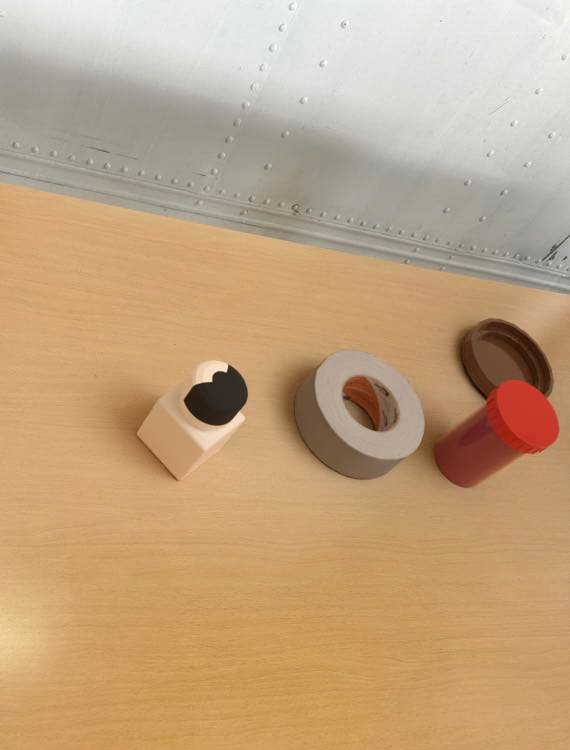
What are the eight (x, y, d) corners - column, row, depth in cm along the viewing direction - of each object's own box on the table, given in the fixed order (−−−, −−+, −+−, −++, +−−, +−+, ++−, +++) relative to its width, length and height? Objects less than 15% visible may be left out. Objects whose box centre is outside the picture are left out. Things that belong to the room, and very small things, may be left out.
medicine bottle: (219, 450, 88) (269, 392, 78) (178, 482, 84) (226, 426, 74) (176, 404, 89) (221, 340, 78) (134, 434, 85) (175, 371, 75)
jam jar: (487, 454, 104) (555, 408, 95) (478, 498, 100) (547, 455, 91) (440, 424, 103) (503, 375, 94) (428, 467, 99) (493, 420, 90)
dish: (544, 363, 117) (558, 353, 115) (533, 430, 110) (547, 421, 108) (468, 313, 115) (480, 301, 113) (451, 377, 108) (464, 367, 106)
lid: (551, 413, 96) (563, 405, 95) (542, 468, 91) (555, 460, 90) (492, 374, 95) (502, 365, 93) (479, 427, 90) (490, 419, 89)
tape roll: (270, 400, 94) (291, 376, 90) (346, 355, 102) (368, 331, 98) (350, 500, 92) (375, 481, 88) (420, 447, 100) (447, 427, 96)
